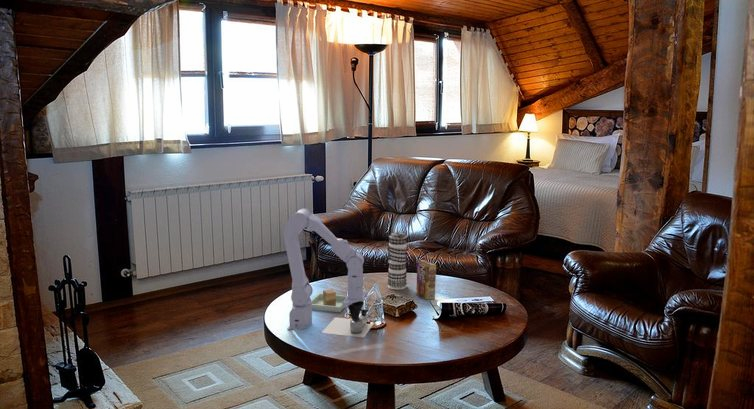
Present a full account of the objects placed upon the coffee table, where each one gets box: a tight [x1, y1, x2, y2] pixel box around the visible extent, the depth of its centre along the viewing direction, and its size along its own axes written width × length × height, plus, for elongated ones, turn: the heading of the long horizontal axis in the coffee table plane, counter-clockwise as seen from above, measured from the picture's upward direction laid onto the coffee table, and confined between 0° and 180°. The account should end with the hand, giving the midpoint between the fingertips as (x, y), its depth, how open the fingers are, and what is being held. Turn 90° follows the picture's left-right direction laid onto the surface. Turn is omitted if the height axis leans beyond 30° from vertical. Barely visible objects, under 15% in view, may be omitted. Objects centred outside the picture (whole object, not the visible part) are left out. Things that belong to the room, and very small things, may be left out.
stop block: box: [322, 288, 337, 306], centre depth 246 cm, size 4×4×6 cm
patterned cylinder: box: [387, 231, 409, 291], centre depth 272 cm, size 9×9×25 cm
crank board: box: [321, 317, 374, 339], centre depth 223 cm, size 16×16×1 cm
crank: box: [350, 308, 369, 334], centre depth 221 cm, size 13×4×5 cm, turn 164°
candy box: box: [415, 259, 437, 301], centre depth 259 cm, size 9×4×15 cm, turn 31°
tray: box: [311, 293, 348, 313], centre depth 246 cm, size 14×14×3 cm
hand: (354, 320), depth 224 cm, fingers closed, pressing on crank
